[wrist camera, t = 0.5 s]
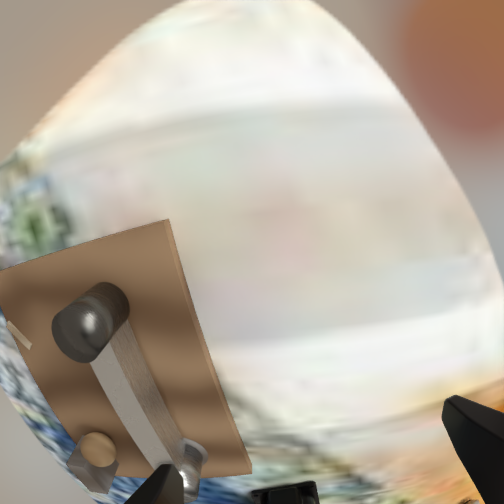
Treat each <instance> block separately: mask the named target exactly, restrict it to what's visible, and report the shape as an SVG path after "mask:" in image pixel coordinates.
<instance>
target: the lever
mask: <svg viewBox="0 0 504 504" xmlns="http://www.w3.org/2000/svg"><path fill="white" fill-rule="evenodd" d="M129 313H130V305H129V301H128V299H127V297H126V295H125V294H124V292H123V291H122V290H121V289H120V288H119V287H117V286H116V285H114V284H112V283H109V282H100V283H97V284H95V285H94V286H93V287H91V288H90V289H89V290H87V291H86V292H85V293H83V294H82V295H81V296H79V297H78V298H77V299H75V300H74V301H73V302H71V303H70V304H69V305H67V306H66V307H65V308H64V309H62V310H61V311H60V312H58V313H57V314H56V315H55V316H54V318H53V320H52V325H51V329H52V335H53V338H54V340H55V342H56V344H57V346H58V347H59V349H60V350H61V351H62V352H63V353H64V354H65V355H66V356H67V357H69V358H70V359H72V360H74V361H76V362H79V363H90V364H91V366H92V368H93V370H94V372H95V374H96V376H97V378H98V380H99V382H100V384H101V386H102V388H103V390H104V391H105V393H106V395H107V397H108V399H109V401H110V402H111V404H112V406H113V408H114V409H115V411H116V413H117V414H118V416H119V418H120V419H121V421H122V423H123V424H124V426H125V427H126V429H127V431H128V432H129V434H130V435H131V437H132V438H133V440H134V441H135V443H136V444H137V446H138V447H139V449H140V450H141V452H142V453H143V455H144V456H145V458H146V459H147V460H148V462H149V463H150V465H151V466H152V467H153V469H154V471H155V470H156V469H157V468H158V467H159V466H160V465H161V464H173V465H174V466H175V467H176V468H177V470H178V471H179V473H180V474H181V476H182V477H183V480H184V503H188V502H192V501H195V500H196V499H197V498H198V492H199V484H200V477H201V470H202V463H203V456H202V454H201V453H200V451H198V450H197V449H196V448H194V447H192V446H190V445H188V444H186V443H185V441H184V439H183V437H182V436H181V434H180V432H179V430H178V428H177V426H176V425H175V423H174V421H173V419H172V417H171V415H170V413H169V411H168V409H167V407H166V405H165V403H164V401H163V399H162V397H161V395H160V393H159V391H158V389H157V387H156V385H155V383H154V380H153V378H152V376H151V374H150V372H149V369H148V367H147V365H146V363H145V360H144V358H143V356H142V353H141V351H140V349H139V346H138V344H137V341H136V339H135V336H134V334H133V331H132V329H131V326H130V324H129V321H128V317H129Z"/></svg>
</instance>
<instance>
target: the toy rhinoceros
mask: <svg viewBox="0 0 504 504" xmlns="http://www.w3.org/2000/svg"><path fill="white" fill-rule="evenodd" d="M465 504H479V501H478V500H471V501H469V502H467V503H465Z"/></svg>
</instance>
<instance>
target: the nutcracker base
mask: <svg viewBox="0 0 504 504" xmlns="http://www.w3.org/2000/svg"><path fill="white" fill-rule="evenodd" d="M100 282H109V283H112V284H114V285H116V286H117V287H119V288H120V289H121V290H122V291H123V292H124V294H125V295H126V297H127V299H128V301H129V305H130V313H129V317H128V321H129V324H130V326H131V329H132V331H133V334H134V336H135V339H136V341H137V344H138V346H139V349H140V351H141V353H142V356H143V358H144V360H145V363H146V365H147V367H148V369H149V372H150V374H151V376H152V378H153V380H154V383H155V385H156V387H157V389H158V391H159V393H160V395H161V397H162V399H163V401H164V403H165V405H166V407H167V409H168V411H169V413H170V415H171V417H172V419H173V421H174V423H175V425H176V426H177V428H178V430H179V432H180V434H181V436H182V437H183V439H184V441H185V443H186V444H188V445H190V446H192V447H194V448H196V449H197V450H198V451H200V453H201V454H202V456H203V463H202V470H201V477H200V478H212V477H226V476H237V475H246V474H252V463H251V461H250V459H249V456H248V454H247V451H246V449H245V447H244V444H243V442H242V439H241V437H240V434H239V432H238V430H237V427H236V424H235V422H234V419H233V417H232V414H231V412H230V409H229V406H228V404H227V401H226V399H225V396H224V393H223V391H222V388H221V385H220V382H219V380H218V377H217V374H216V371H215V368H214V366H213V363H212V360H211V357H210V354H209V351H208V348H207V345H206V342H205V339H204V336H203V333H202V330H201V327H200V324H199V321H198V318H197V315H196V312H195V309H194V305H193V302H192V299H191V296H190V292H189V289H188V286H187V282H186V279H185V276H184V272H183V269H182V265H181V262H180V258H179V255H178V251H177V248H176V244H175V240H174V237H173V233H172V229H171V225H170V222H169V219H166V220H162V221H159V222H155V223H151V224H148V225H144V226H140V227H137V228H133V229H130V230H126V231H123V232H119V233H116V234H112V235H109V236H105V237H102V238H99V239H95V240H92V241H89V242H86V243H82V244H79V245H76V246H73V247H69V248H66V249H63V250H60V251H57V252H54V253H51V254H48V255H45V256H42V257H39V258H36V259H33V260H30V261H27V262H24V263H21V264H18V265H15V266H12V267H9V268H7V269H4V270H1V271H0V306H1V309H2V311H3V314H4V316H5V319H6V321H7V326H6V327H7V328H8V329H9V330H10V332H11V333H12V335H13V337H14V340H15V342H16V344H17V346H18V348H19V350H20V353H21V355H22V357H23V359H24V361H25V363H26V365H27V366H28V368H29V370H30V372H31V374H32V376H33V378H34V380H35V381H36V383H37V385H38V387H39V389H40V390H41V392H42V394H43V395H44V397H45V399H46V400H47V402H48V404H49V405H50V407H51V408H52V410H53V412H54V413H55V415H56V416H57V418H58V419H59V421H60V422H61V424H62V425H63V427H64V428H65V430H66V431H67V433H68V434H69V435H70V437H71V438H72V440H73V441H74V442H75V444H76V445H77V446H76V447H75V449H74V451H73V453H72V455H71V456H70V458H69V460H68V462H67V464H66V465H67V466H68V467H69V468H70V470H71V471H72V472H73V473H74V474H75V475H76V476H77V478H78V479H79V480H80V481H81V482H82V483H83V484H84V485H85V486H86V487H87V488H88V489H89V491H91V492H97V493H103V494H108V492H109V489H110V487H111V484H112V482H113V479H114V477H115V476H123V477H136V478H149V477H150V475H151V474H152V473H153V472H154V469H153V467H152V466H151V465H150V463H149V462H148V460H147V459H146V458H145V456H144V455H143V453H142V452H141V450H140V449H139V447H138V446H137V444H136V443H135V441H134V440H133V438H132V437H131V435H130V434H129V432H128V431H127V429H126V427H125V426H124V424H123V423H122V421H121V419H120V418H119V416H118V414H117V413H116V411H115V409H114V408H113V406H112V404H111V402H110V401H109V399H108V397H107V395H106V393H105V391H104V390H103V388H102V386H101V384H100V382H99V380H98V378H97V376H96V374H95V372H94V370H93V368H92V366H91V364H90V363H79V362H76V361H74V360H72V359H70V358H69V357H67V356H66V355H65V354H64V353H63V352H62V351H61V350H60V349H59V347H58V346H57V344H56V342H55V340H54V338H53V335H52V329H51V325H52V320H53V318H54V316H55V315H56V314H57V313H58V312H60V311H61V310H62V309H64V308H65V307H66V306H67V305H69V304H70V303H71V302H73V301H74V300H75V299H77V298H78V297H79V296H81V295H82V294H83V293H85V292H86V291H87V290H89V289H90V288H91V287H93V286H94V285H95V284H97V283H100Z"/></svg>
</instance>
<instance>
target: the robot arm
mask: <svg viewBox="0 0 504 504" xmlns="http://www.w3.org/2000/svg"><path fill="white" fill-rule="evenodd" d="M442 421H443V424H444V426H445V428H446V430H447V432H448V435H449V437H450V439H451V441H452V444H453V446H454V448H455V451H456V453H457V455H458V457H459V458H460V460H461V462H462V463H463V465H464V467H465V469H466V470H467V472H468V474H469V475H470V477H471V479H472V481H473V482H474V484H475V486H476V488H477V490H478V491H479V493H480V495H481V497H482V499H483V500H484V502H485V504H504V413H503V412H500V411H497V410H495V409H492V408H489V407H487V406H484V405H481V404H479V403H476V402H474V401H471V400H468V399H466V398H463V397H461V396H458V395H453V396H451V397H449V398H447V399H446V400H445V401H444V406H443V411H442ZM251 496H252V498H253V500H254V502H255V504H320V503H319V498H318V493H317V487H316V483H315V482H313V481H312V482H306V483H301V484H296V485H291V486H285V487H279V488H272V489H265V490H257V491H253V492H251ZM124 504H184V480H183V477H182V476H181V474H180V473H179V471H178V470H177V468H176V467H175V466H174V465H173V464H161V465H160V466H159V467H158V468H157V469H156V470H155V471H154V472H153V473H152V474H151V475H150V477H149V478H148V479H147V480H146V481H145V482H144V483H143V484H142V485H141V486H140V487H139V488H138V489H137V490H136V491H135V492H134V493H133V494H132V496H131V497H130V498H129V499H128V500H127V501H126V502H125V503H124Z"/></svg>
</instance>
